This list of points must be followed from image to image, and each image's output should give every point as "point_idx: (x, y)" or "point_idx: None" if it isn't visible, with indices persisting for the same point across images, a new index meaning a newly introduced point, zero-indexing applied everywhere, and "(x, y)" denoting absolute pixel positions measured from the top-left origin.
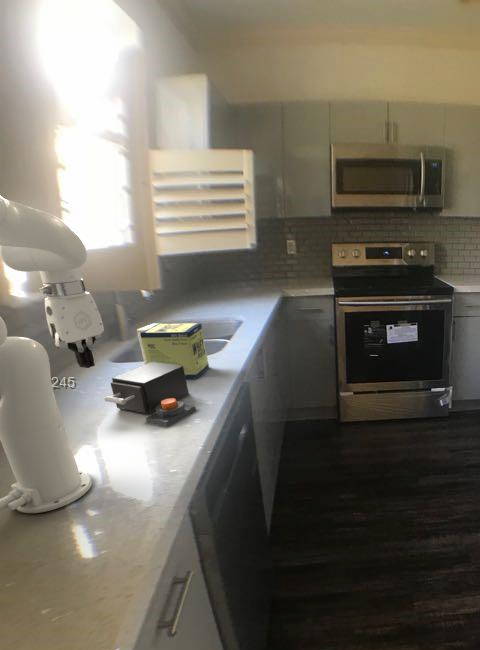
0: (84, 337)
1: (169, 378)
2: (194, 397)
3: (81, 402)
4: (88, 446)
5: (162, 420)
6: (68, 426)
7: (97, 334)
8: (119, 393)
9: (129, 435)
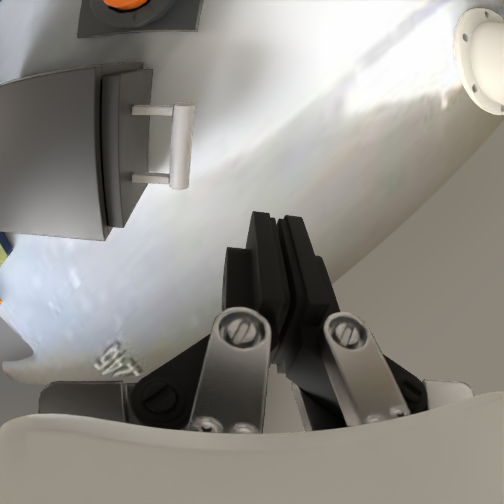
0: (402, 439)
1: (12, 81)
2: (26, 51)
3: (150, 294)
4: (351, 98)
5: None
6: None
7: (130, 436)
8: (136, 175)
9: (279, 27)
